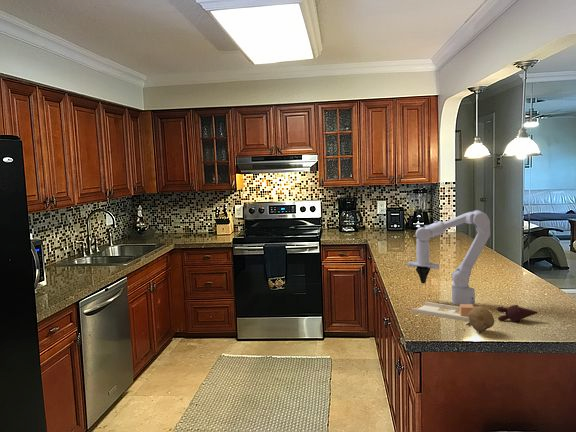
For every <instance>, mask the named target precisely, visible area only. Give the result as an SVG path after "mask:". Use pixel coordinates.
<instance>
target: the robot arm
mask: <svg viewBox="0 0 576 432" xmlns="http://www.w3.org/2000/svg"><path fill="white" fill-rule="evenodd" d="M462 224H468V225H472V224H473V226H474V228H475V230H476V232H477V234H476V235H475V237H474V239H473V241H472V243H471V245H470V247H469V249H468V250H467V252H466V255H465V256H464V258H463V260H462V262H461V263H460V264H459V265H458V266H457V268H456V269H455V270H453V271H452V273H451V280H452V281H453V283H452V284H451V303H453V305H454V304H455V305H460V304H473V306H476V291H475V288H474V287H470V285H469V283H470V277H471V275H472V270H473V267H474V265H476V262H477V261H478V259H479V257H480V255H481V253H482V251H483V250H484V248H485V246H486V244H487V242H488V240H489V238H490V237H491V220H490V219H489V216H488V215H487V213H485V212H483V211H481V210H478V209H475V210H472V211H468V212H465V213H462V214H460V215H458V216H456V217H453V218H451V219H448V220H446V221H442V220H439V221H438V220H434V222H433V223H431V224H425V225H424V226H423V227H418V228H417V229H416V230H415V233H414V235H415V237H416V239H415V241H416V246H415V247H416V248H415V249H416V252H415V253H416V261H408V262H407V267H412V268H413V267H415V271H416V272H417V274H418V276H419V277H418V278H419V279H420V284H423V285H424V284H426V283H427V280H428V279H427V278H428V275H429V273H430V271H431V269H434V270H439V269H440V264H439V263H433V262H430V261H431V260H430V243H429V240H430V238H434V237H436V236H439V235H442V234H444V233H446V231H447V230H448V229H450V228H453V227H456V226H459V225H462Z"/></svg>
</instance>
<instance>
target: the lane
mask: <svg viewBox="0 0 576 432" xmlns="http://www.w3.org/2000/svg"><path fill="white" fill-rule="evenodd" d="M440 309H444V311H443V310H440ZM445 309H446V311H445ZM457 311H459V312H460V306H458V305H449V304H443V303H438V302H437V303H436V302H432V301H431V302H430V301H424V302H423V305H421V306H420V307H419V308H417V307H416V308H415V307H412V308H411V313H413V314H414V313H415V314H421V315H426V316H432V317H438V318H445V319H450V320H456V321H462V322H467V323H466V324H465V326H470V327H472V325H471V323H470V320H469V317H464V316H460V313H457Z"/></svg>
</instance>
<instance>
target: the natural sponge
mask: <svg viewBox="0 0 576 432" xmlns="http://www.w3.org/2000/svg"><path fill="white" fill-rule="evenodd" d="M469 320H470V323H471V325H472V326H471V327H472V329H474V330H475V332H478V333H483V332H485V331H487V330H488V329H491V328H492V327H493V326H494V325H495V318H494V315H493V314H492V311H490V309H488V308H487V307H485V306H482V305H480V306H475V307H474V308H473V309H472V310H471V311H470V312H469Z"/></svg>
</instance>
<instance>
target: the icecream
mask: <svg viewBox="0 0 576 432" xmlns="http://www.w3.org/2000/svg"><path fill="white" fill-rule="evenodd" d="M496 310H497V312H498V313H502V314H503V313H504V314H505V315H500V316H498V317H497V319H498V321H500V322H503V321H508V320H509V321H513V322H517V323H518V322H519V323H520V322H521V320H523V319H525V318H529V317H531V316H533V315H536V314H537V315H538V311H536V310H532V309H529V308H524V307H520V306H519V305H518V304H514V305H511V306H509V307H504V306H497V307H496Z"/></svg>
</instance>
